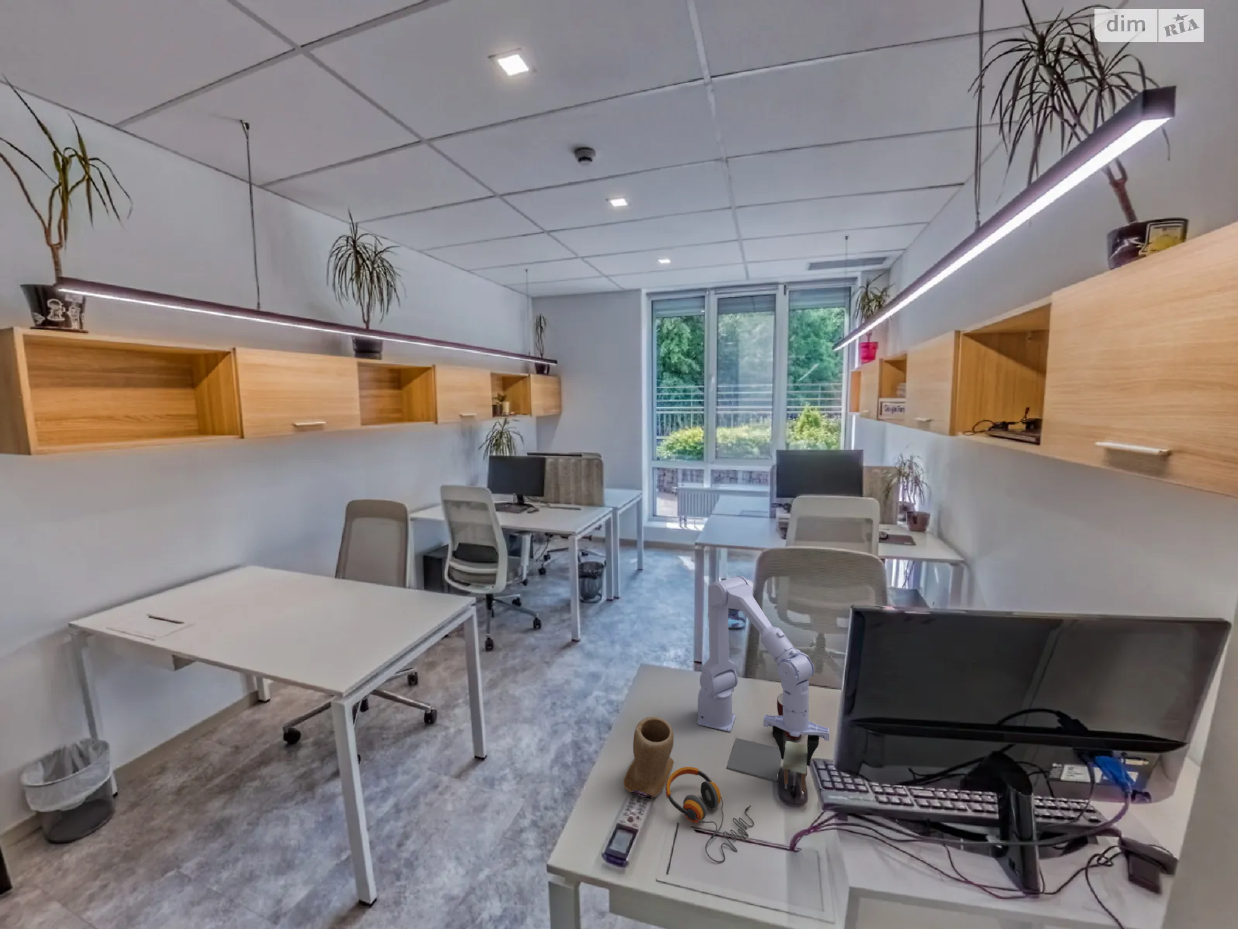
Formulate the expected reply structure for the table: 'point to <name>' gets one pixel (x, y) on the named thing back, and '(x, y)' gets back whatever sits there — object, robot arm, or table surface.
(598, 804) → the table surface
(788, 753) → the stool
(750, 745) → the mat
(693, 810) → the headphones
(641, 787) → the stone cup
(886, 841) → the table surface
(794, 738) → the mug
